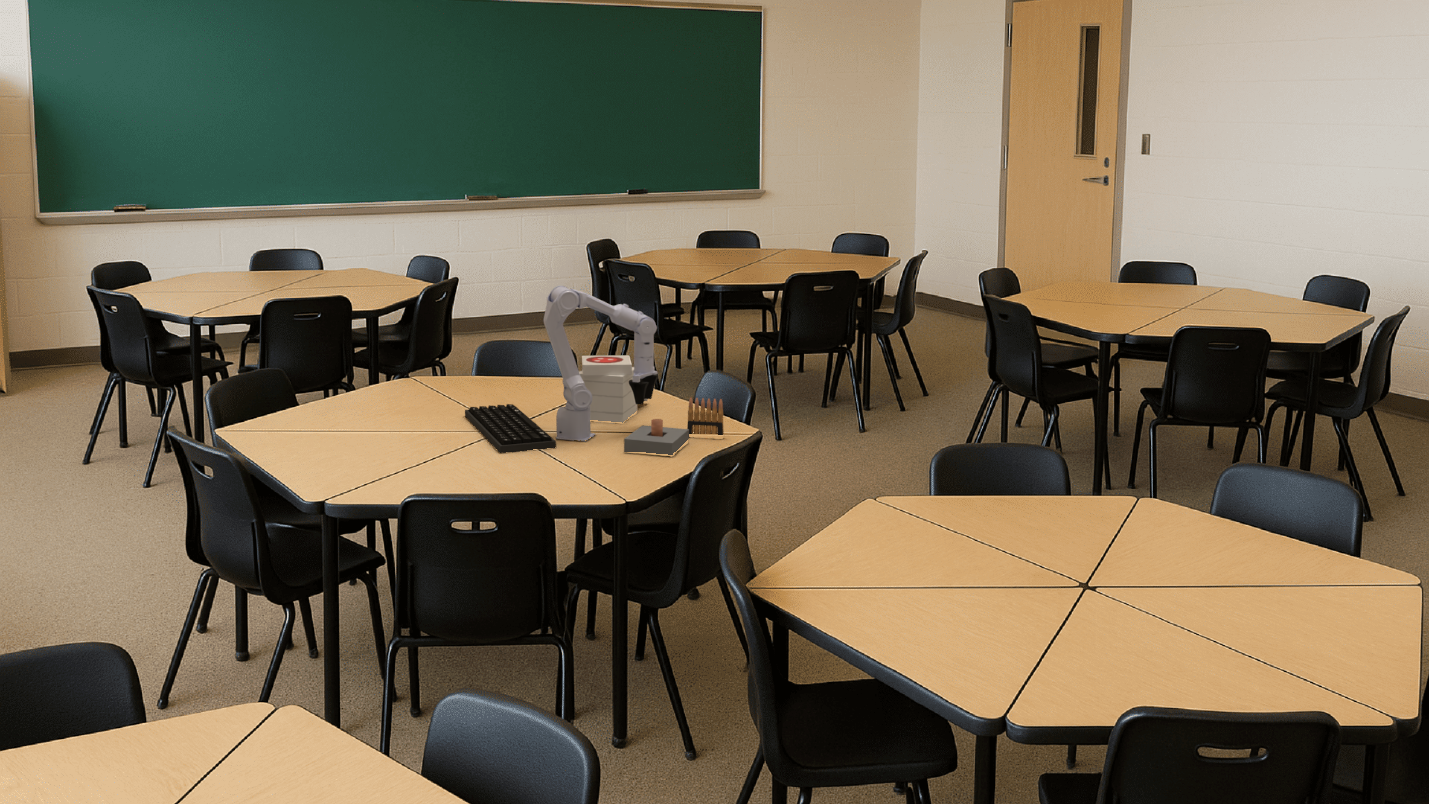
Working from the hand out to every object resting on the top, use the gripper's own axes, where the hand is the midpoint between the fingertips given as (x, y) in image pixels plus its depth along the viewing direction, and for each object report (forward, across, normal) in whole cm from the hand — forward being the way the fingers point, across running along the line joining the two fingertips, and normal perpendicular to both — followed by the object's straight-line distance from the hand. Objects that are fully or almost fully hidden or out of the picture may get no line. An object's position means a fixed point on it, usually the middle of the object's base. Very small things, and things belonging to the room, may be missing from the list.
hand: (643, 401), depth 343 cm
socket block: (+9, -15, -9) cm, 20 cm away
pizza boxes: (+10, +20, +17) cm, 28 cm away
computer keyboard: (+10, -12, +38) cm, 41 cm away
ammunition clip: (+10, 0, -19) cm, 21 cm away
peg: (+9, -15, -9) cm, 20 cm away
